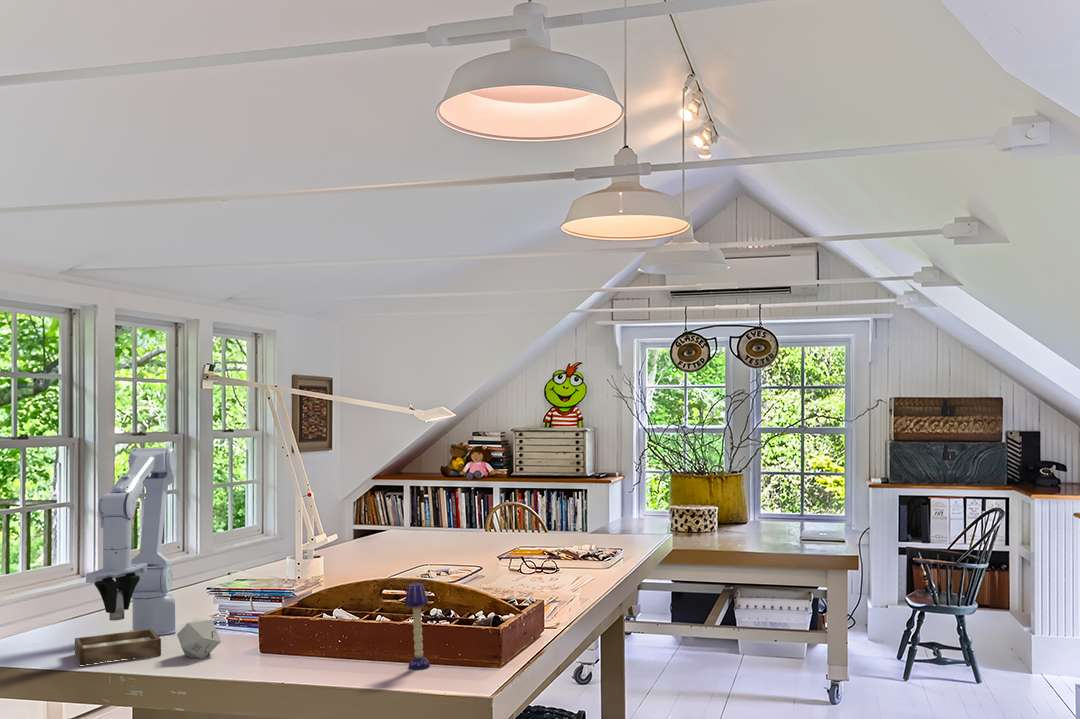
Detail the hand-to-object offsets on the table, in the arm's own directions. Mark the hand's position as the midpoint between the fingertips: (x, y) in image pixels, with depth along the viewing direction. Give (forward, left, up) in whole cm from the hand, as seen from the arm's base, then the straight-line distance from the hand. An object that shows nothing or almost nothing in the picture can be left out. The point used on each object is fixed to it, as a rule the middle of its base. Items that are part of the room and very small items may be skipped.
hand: (117, 610), depth 221 cm
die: (-15, +11, -10) cm, 21 cm away
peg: (0, 0, -2) cm, 2 cm away
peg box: (0, 0, -10) cm, 10 cm away
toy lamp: (-51, +46, -10) cm, 69 cm away
